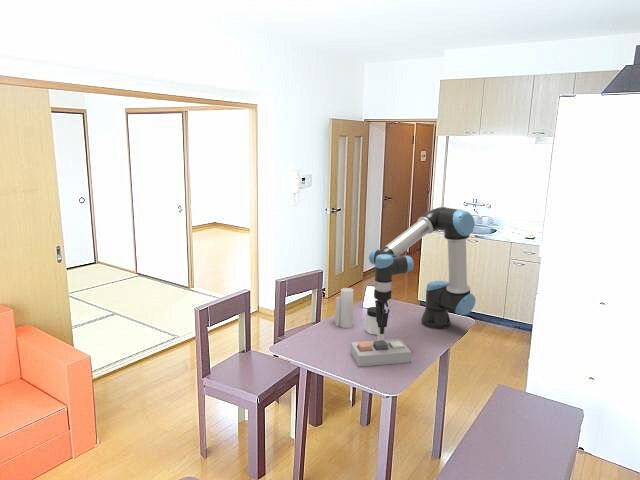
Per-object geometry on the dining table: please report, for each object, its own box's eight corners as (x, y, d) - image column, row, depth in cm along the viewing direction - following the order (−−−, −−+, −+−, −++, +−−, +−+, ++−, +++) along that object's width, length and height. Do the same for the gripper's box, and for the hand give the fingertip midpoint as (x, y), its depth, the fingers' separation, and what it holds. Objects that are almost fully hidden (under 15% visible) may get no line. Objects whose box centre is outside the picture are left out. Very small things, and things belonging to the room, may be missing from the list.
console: (399, 348, 224) (400, 338, 223) (410, 362, 210) (411, 351, 209) (350, 352, 219) (350, 342, 218) (358, 366, 206) (359, 356, 205)
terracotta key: (368, 347, 215) (368, 341, 215) (371, 352, 211) (371, 346, 210) (357, 348, 214) (357, 342, 214) (360, 353, 210) (360, 347, 209)
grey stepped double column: (355, 325, 250) (356, 289, 246) (346, 329, 245) (347, 292, 241) (338, 320, 258) (339, 285, 253) (330, 323, 252) (330, 288, 248)
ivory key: (399, 347, 218) (399, 341, 218) (403, 351, 214) (403, 345, 213) (389, 347, 217) (389, 341, 217) (392, 352, 213) (393, 346, 212)
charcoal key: (383, 346, 217) (384, 340, 216) (387, 351, 212) (387, 344, 211) (373, 347, 216) (373, 341, 215) (376, 352, 211) (377, 345, 210)
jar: (363, 329, 245) (364, 307, 243) (377, 327, 249) (377, 305, 246) (371, 336, 237) (372, 313, 235) (385, 333, 241) (386, 311, 238)
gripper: (370, 285, 213) (368, 334, 218) (379, 294, 201) (377, 346, 206) (386, 284, 215) (384, 333, 220) (396, 294, 202) (393, 345, 207)
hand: (380, 339), depth 213 cm, fingers closed
